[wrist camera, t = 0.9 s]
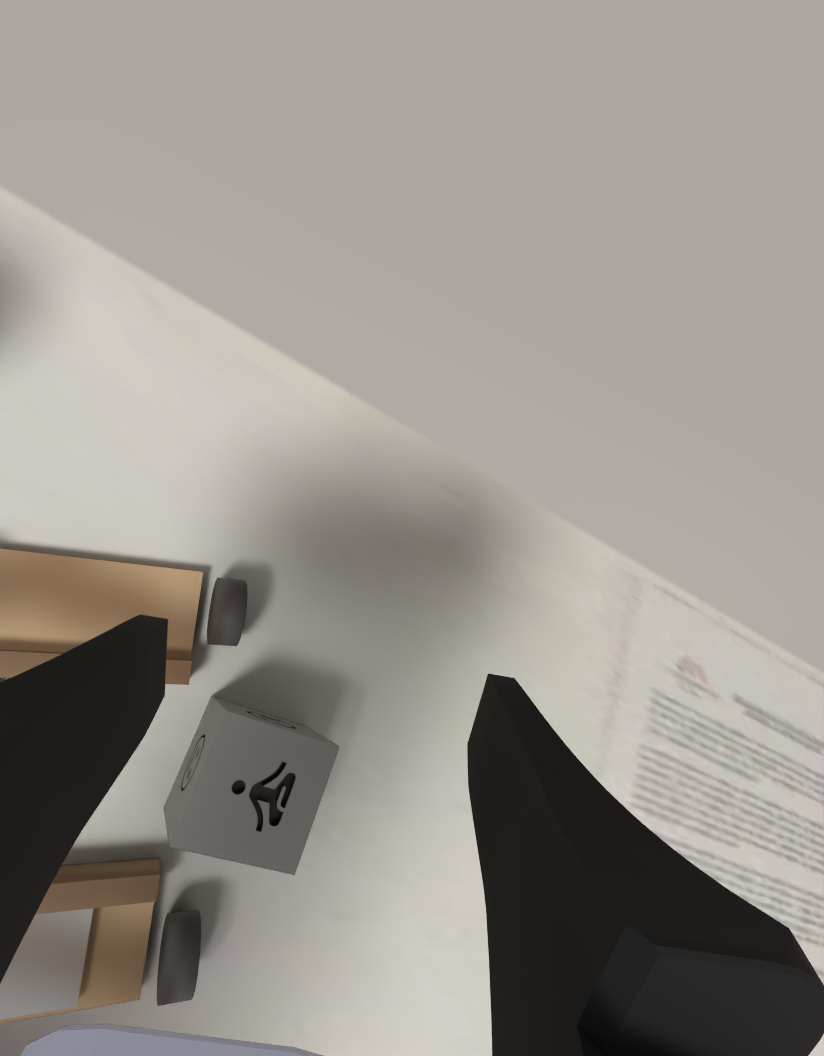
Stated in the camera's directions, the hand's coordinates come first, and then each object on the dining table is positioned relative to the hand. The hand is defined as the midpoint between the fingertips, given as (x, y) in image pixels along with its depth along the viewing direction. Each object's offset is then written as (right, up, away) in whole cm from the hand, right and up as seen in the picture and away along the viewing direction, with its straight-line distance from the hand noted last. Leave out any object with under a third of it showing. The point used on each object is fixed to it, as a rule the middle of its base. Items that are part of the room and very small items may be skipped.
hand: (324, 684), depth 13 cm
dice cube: (-6, -8, +14) cm, 17 cm away
